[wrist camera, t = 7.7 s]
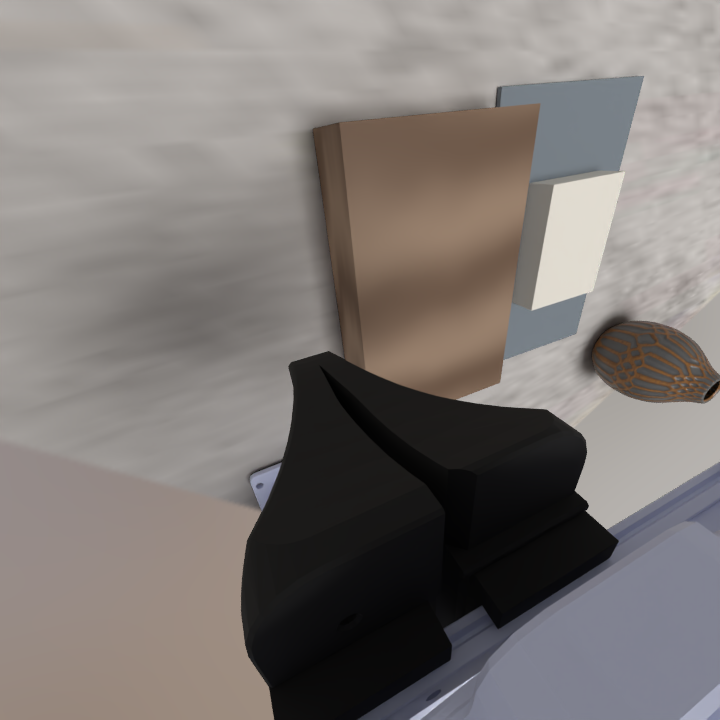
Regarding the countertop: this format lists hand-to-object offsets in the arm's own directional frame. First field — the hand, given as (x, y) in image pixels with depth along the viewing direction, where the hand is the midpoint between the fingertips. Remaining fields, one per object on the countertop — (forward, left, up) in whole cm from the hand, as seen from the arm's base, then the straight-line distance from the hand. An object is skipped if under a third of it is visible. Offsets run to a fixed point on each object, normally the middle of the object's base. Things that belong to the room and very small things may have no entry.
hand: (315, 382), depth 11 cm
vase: (-13, -31, -10) cm, 35 cm away
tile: (-1, -20, -7) cm, 22 cm away
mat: (-1, -20, -9) cm, 22 cm away
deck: (-1, -9, -9) cm, 13 cm away
